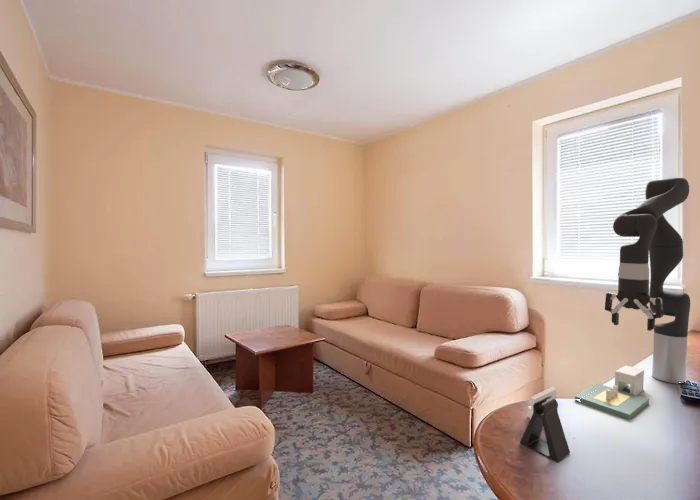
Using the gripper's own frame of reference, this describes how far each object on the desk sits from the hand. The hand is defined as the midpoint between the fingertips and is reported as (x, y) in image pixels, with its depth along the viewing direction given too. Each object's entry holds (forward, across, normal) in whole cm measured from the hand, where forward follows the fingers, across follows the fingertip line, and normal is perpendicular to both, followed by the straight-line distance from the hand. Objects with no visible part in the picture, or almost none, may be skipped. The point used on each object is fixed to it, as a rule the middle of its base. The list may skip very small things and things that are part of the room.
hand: (632, 327), depth 108 cm
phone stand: (+23, +4, +50) cm, 55 cm away
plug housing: (+24, +3, -10) cm, 26 cm away
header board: (+24, +3, +6) cm, 25 cm away
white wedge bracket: (+23, +10, +37) cm, 45 cm away
